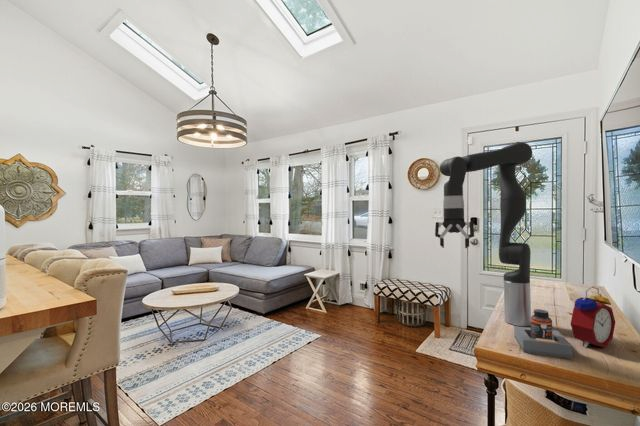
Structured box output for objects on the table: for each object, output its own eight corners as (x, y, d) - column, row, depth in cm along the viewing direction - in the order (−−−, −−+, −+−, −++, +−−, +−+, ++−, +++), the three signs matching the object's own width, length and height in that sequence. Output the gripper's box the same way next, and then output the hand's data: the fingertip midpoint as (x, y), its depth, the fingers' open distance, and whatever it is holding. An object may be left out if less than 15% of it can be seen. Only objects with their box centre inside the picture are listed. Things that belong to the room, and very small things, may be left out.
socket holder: (514, 337, 110) (514, 325, 110) (557, 342, 105) (557, 329, 106) (523, 352, 98) (523, 338, 98) (572, 358, 93) (572, 344, 93)
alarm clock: (593, 352, 97) (591, 290, 97) (562, 342, 105) (561, 285, 105) (616, 344, 103) (615, 285, 103) (586, 335, 111) (585, 281, 111)
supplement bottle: (550, 349, 98) (549, 314, 98) (528, 343, 102) (528, 310, 102) (554, 344, 102) (553, 310, 102) (533, 338, 106) (532, 306, 106)
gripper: (472, 207, 121) (473, 247, 121) (434, 208, 127) (435, 246, 126) (474, 206, 114) (475, 249, 114) (434, 207, 120) (435, 248, 119)
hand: (454, 247), depth 120 cm, fingers open, 8 cm apart
